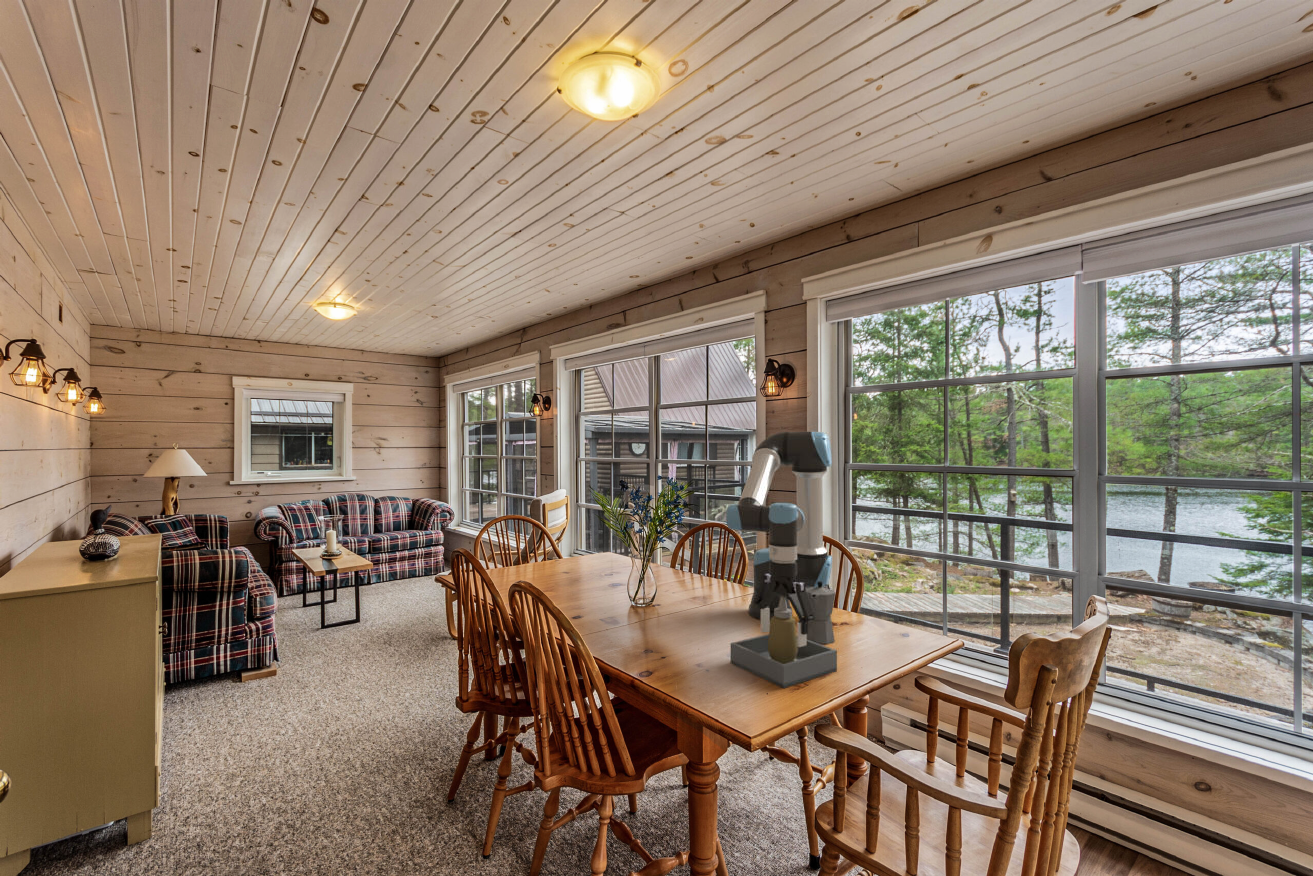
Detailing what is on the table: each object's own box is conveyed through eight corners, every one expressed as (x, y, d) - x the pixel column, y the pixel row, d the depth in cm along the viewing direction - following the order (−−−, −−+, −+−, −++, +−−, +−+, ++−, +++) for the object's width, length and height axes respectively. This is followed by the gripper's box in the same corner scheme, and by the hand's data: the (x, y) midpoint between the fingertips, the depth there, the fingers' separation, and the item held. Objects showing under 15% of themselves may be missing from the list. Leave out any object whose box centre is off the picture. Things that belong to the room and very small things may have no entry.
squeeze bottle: (795, 670, 156) (796, 602, 155) (765, 665, 158) (765, 599, 158) (799, 658, 163) (800, 594, 163) (770, 654, 166) (770, 591, 166)
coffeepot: (828, 648, 175) (828, 588, 175) (797, 642, 180) (797, 583, 180) (843, 634, 188) (843, 577, 188) (814, 629, 193) (814, 574, 193)
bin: (781, 649, 175) (782, 630, 175) (836, 671, 158) (836, 650, 158) (730, 663, 164) (730, 643, 164) (783, 688, 147) (783, 666, 147)
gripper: (741, 554, 169) (741, 628, 169) (808, 570, 148) (808, 655, 148) (760, 551, 173) (760, 624, 173) (828, 567, 153) (828, 649, 153)
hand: (782, 638), depth 161 cm, fingers open, 13 cm apart
